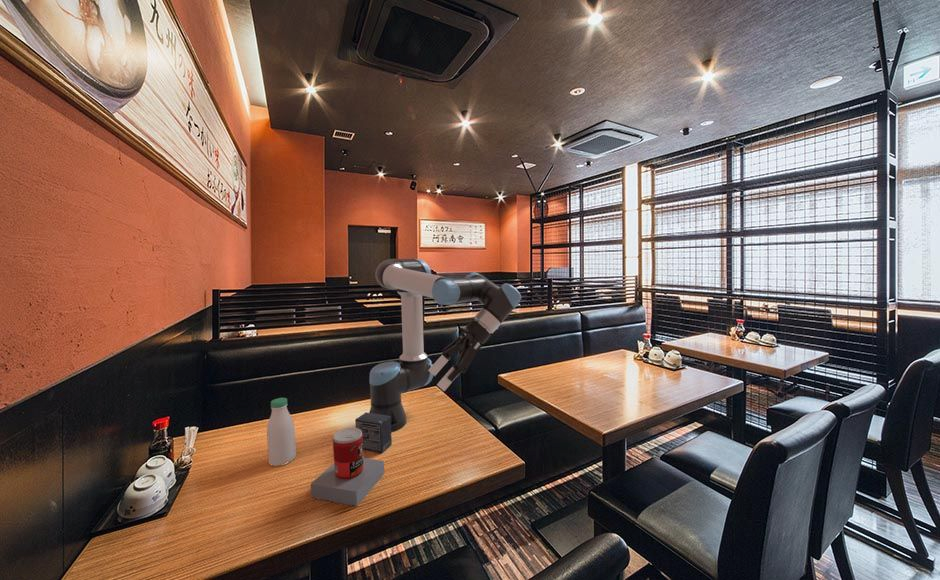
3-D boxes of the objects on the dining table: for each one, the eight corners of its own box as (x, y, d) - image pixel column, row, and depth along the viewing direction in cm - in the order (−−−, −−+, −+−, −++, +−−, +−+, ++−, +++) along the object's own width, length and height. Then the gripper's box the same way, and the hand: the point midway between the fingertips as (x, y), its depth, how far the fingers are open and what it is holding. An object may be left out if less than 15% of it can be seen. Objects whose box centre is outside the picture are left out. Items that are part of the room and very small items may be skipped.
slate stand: (343, 467, 104) (343, 454, 103) (384, 473, 100) (383, 460, 100) (311, 497, 90) (310, 483, 90) (357, 506, 87) (356, 491, 86)
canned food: (355, 481, 91) (353, 442, 90) (328, 478, 92) (326, 439, 91) (369, 464, 98) (367, 428, 97) (344, 462, 100) (342, 426, 99)
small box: (393, 444, 117) (391, 415, 116) (382, 454, 111) (381, 423, 110) (367, 439, 120) (366, 411, 120) (355, 449, 114) (354, 419, 113)
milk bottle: (301, 456, 110) (297, 397, 109) (279, 469, 103) (275, 406, 102) (285, 451, 114) (282, 394, 112) (263, 463, 107) (259, 402, 105)
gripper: (506, 343, 92) (455, 403, 89) (477, 327, 116) (436, 375, 113) (488, 325, 90) (434, 386, 87) (462, 313, 114) (420, 361, 111)
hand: (435, 380), depth 100 cm, fingers open, 13 cm apart
